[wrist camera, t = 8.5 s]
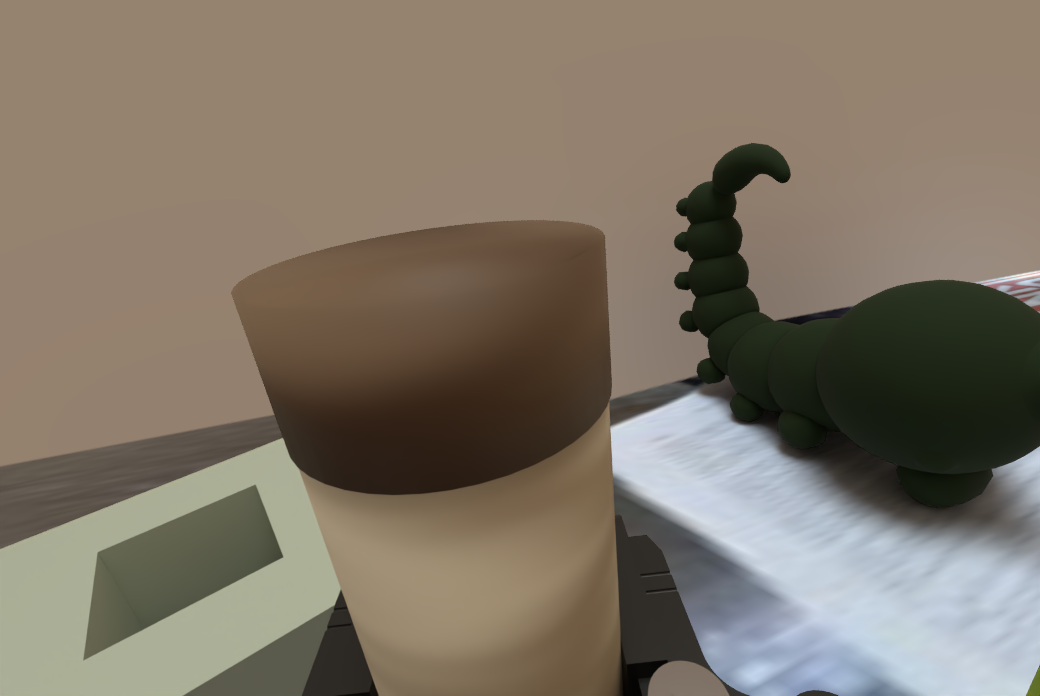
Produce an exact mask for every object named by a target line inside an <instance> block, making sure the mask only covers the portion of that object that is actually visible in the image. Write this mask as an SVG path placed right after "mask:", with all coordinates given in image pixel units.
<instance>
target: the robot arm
mask: <svg viewBox="0 0 1040 696" xmlns="http://www.w3.org/2000/svg"><path fill="white" fill-rule="evenodd" d="M615 533H616V553H617V573H618V593H619V612H620V632H621V633H620V640H621V660H622V680H623V696H749V695H746V694H744V693H741V692H739V691H737V690H735V689H734V688H732V687H730V686H729V685H727V684H726V683H725V682H723V681H722V680H721V679H720V678H719V677H718V676H717V675H716V674H715V673H714V672H713V670H712V669H711V668H710V666H709V665H708V663H707V662H706V660H705V658H704V656H703V653H702V651H701V648H700V646H699V643H698V641H697V638H696V636H695V633H694V631H693V628H692V626H691V623H690V621H689V618H688V615H687V613H686V610H685V608H684V605H683V603H682V600H681V598H680V595H679V593H678V592H677V589H676V585H675V583H674V580H673V578H672V575H670V570H669V568H668V565H667V563H666V560H665V558H664V555H663V553H662V551H661V550H660V549H659V548H658V547H657V546H656V544H655V543H654V542H653V541H652V540H651V539H650V538H649V537H648V536H647V535H642V536H633V537H628V535H627V532H626V529H625V526H624V523H623V520H622V517H621V515H615ZM302 696H379V695H378V692H377V689H376V687H375V684H374V681H373V678H372V675H371V672H370V670H369V667H368V664H367V661H366V658H365V655H364V652H363V650H362V647H361V644H360V641H359V638H358V635H357V633H356V630H355V627H354V624H353V621H352V618H351V616H350V613H349V610H348V607H347V604H346V601H345V599H344V596H343V593H342V590H340V592H339V595H338V598H337V600H336V603H335V606H334V612H333V613H332V614H331V617H330V620H329V622H328V625H327V631H325V633H324V636H323V639H322V641H321V644H320V647H319V650H318V652H317V655H316V658H315V660H314V663H313V666H312V669H311V671H310V674H309V677H308V680H307V682H306V685H305V688H304V690H303V693H302ZM797 696H838V695H836V694H833V693H830V692H825V691H817V690H812V691H806V692H803V693H800V694H799V695H797Z"/></svg>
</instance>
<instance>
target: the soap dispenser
mask: <svg viewBox="0 0 1040 696" xmlns="http://www.w3.org/2000/svg"><path fill="white" fill-rule="evenodd" d="M1026 696H1040V666H1039V668H1038V670H1037V672H1036V675H1035V677H1034V679H1033V681H1032V683H1031V686H1030V688H1029V690H1028V692H1027V695H1026Z"/></svg>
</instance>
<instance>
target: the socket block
mask: <svg viewBox="0 0 1040 696" xmlns="http://www.w3.org/2000/svg"><path fill="white" fill-rule="evenodd" d="M340 590H341V587H340V584H339V582H338V579H337V576H336V573H335V570H334V567H333V565H332V562H331V559H330V556H329V553H328V550H327V548H326V545H325V542H324V539H323V536H322V533H321V531H320V528H319V525H318V522H317V519H316V516H315V514H314V511H313V508H312V505H311V502H310V499H309V497H308V494H307V491H306V488H305V485H304V482H303V480H302V477H301V474H300V471H299V468H298V467H297V466H296V465H295V463H294V462H293V461H292V460H291V458H290V456H289V453H288V451H287V448H286V445H285V442H284V439H283V438H282V439H279V440H277V441H274V442H272V443H269V444H267V445H264V446H262V447H259V448H256V449H254V450H251V451H249V452H246V453H244V454H241V455H239V456H236V457H234V458H231V459H228V460H226V461H223V462H221V463H218V464H216V465H213V466H211V467H208V468H206V469H203V470H201V471H198V472H195V473H193V474H190V475H188V476H185V477H183V478H180V479H178V480H175V481H173V482H170V483H167V484H165V485H162V486H160V487H157V488H155V489H152V490H150V491H147V492H145V493H142V494H140V495H137V496H134V497H132V498H129V499H127V500H124V501H122V502H119V503H117V504H114V505H112V506H109V507H106V508H104V509H101V510H99V511H96V512H94V513H91V514H89V515H86V516H84V517H81V518H79V519H76V520H73V521H71V522H68V523H66V524H63V525H61V526H58V527H56V528H53V529H51V530H48V531H45V532H43V533H40V534H38V535H35V536H33V537H30V538H28V539H25V540H23V541H20V542H18V543H15V544H12V545H10V546H7V547H5V548H2V549H0V696H302V693H303V690H304V688H305V685H306V682H307V680H308V677H309V674H310V671H311V669H312V666H313V663H314V660H315V658H316V655H317V652H318V650H319V647H320V644H321V641H322V639H323V636H324V633H325V631H327V625H328V622H329V620H330V617H331V614H332V613H333V612H334V606H335V603H336V600H337V598H338V595H339V592H340Z"/></svg>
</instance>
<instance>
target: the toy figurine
mask: <svg viewBox="0 0 1040 696" xmlns="http://www.w3.org/2000/svg"><path fill="white" fill-rule="evenodd" d="M759 174H767V175H769V176H771V177H773V178H774V179H775V180H777V181H778V182H780V183H785V182H787V181H788V180H789V178H790V175H791V174H790V169H789V166H788V164H787V162H786V160H785V159H784V157H783V156H782V155H781V154H780V153H779V152H778V151H777V150H775V149H774V148H772V147H770V146H768V145H763V144H756V143H751V144H747V145H742V146H739V147H737V148H735V149H733V150H731V151H730V152H728V153H727V154H725V155H724V156H723V157H722V158H721V159H720V160H719V161H718V163H717V164H716V165H715V168H714V171H713V179H712V181H710V182H705V183H702V184H700V185H698V186H697V187H696V188H695V189H694V190H693V191H692V192H691V193H690V194H689V196H688V198H684V199H681V200H680V201H679V202H678V204H677V205H676V207H677V209H676V210H677V212H678V213H679V214H680V215H681V216H687V219H688V220H689V222H690V223H691V225H690V226H689V228H688V230H687V232H681V233H680V234H679V235H677V236H676V238H675V240H674V245H675V247H676V248H677V249H678V250H680V251H683V252H686V251H688V253H689V256H690V257H691V258H692V259H693V262H692V263H691V265H690V268H689V271H688V272H679V273H678V274H677V275H676V277H675V280H674V283H675V286H676V287H677V288H678V289H682V290H689V289H691V291H692V293H693V294H694V295H695V297H696V299H695V301H694V303H693V308H692V311H686V312H684V313H683V314H682V315H681V317H680V321H679V324H680V326H681V328H682V329H683V330H685V331H688V332H695V331H697V330H698V329H699V331H700V332H701V334H703V335H704V336H705V337H707V338H708V349H709V355H710V358H707V359H704V360H702V361H700V363H699V364H698V367H697V374H698V376H699V378H700V379H701V380H702V381H704V382H705V383H707V384H712V383H718V382H721V381H722V380H723V379H725V375H727V376H729V378H730V382H731V383H732V385H733V387H734V388H735V390H736V392H737V393H736V395H735V396H734V397H733V399H732V401H731V403H730V406H731V409H732V412H733V413H734V415H735V417H737V418H739V419H742V420H745V421H752V420H754V419H756V418H758V417H759V416H760V415H761V413H762V412H763V410H767V411H775V412H781V414H780V416H779V419H778V428H777V430H778V432H779V434H780V435H781V437H782V439H783V440H784V441H785V442H787V443H788V444H789V445H791V446H794V447H796V448H799V449H802V448H810V447H813V446H816V445H819V444H822V443H823V441H824V440H825V438H826V434H827V431H834V432H839V431H842V432H843V433H844V434H845V435H846V436H847V437H848V438H850V439H851V440H852V441H853V442H855V443H856V444H857V445H858V446H860V447H861V448H863V449H864V450H866V451H868V452H870V453H872V454H874V455H875V456H878V457H880V458H882V459H884V460H886V461H888V462H891V463H893V464H896V465H898V468H897V474H898V478H899V481H900V485H901V486H902V487H903V489H904V490H905V492H906V493H907V494H908V495H910V496H911V497H912V498H914V499H915V500H917V501H918V502H920V503H922V504H925V505H929V506H933V507H950V506H954V505H958V504H962V503H964V502H966V501H969V500H971V499H973V498H975V497H977V496H978V495H980V494H982V492H983V491H984V489H985V488H986V486H987V485H988V483H989V481H990V480H991V478H992V477H993V474H992V469H993V468H997V467H1000V466H1003V465H1006V464H1008V463H1011V462H1014V461H1016V460H1018V459H1020V458H1022V457H1024V456H1025V455H1027V454H1029V453H1030V452H1032V451H1033V450H1035V449H1036V448H1038V447H1039V446H1040V313H1038V312H1037V311H1036V310H1034V309H1033V308H1031V307H1030V306H1028V305H1026V304H1025V303H1023V302H1022V301H1020V300H1019V299H1017V298H1015V297H1013V296H1011V295H1008V294H1006V293H1004V292H1001V291H999V290H996V289H993V288H990V287H987V286H984V285H981V284H976V283H970V282H963V281H955V280H934V281H924V282H916V283H909V284H904V285H900V286H896V287H893V288H890V289H887V290H884V291H882V292H880V293H878V294H876V295H873V296H871V297H870V298H867V299H865V300H863V301H862V302H860V303H858V304H857V305H855V306H854V307H853V308H852V309H850V310H849V311H848V312H847V313H846V314H845V315H843V316H842V317H841V318H830V319H819V320H813V321H810V322H807V323H804V324H802V325H796V324H792V323H788V322H775V321H774V320H772V319H771V318H770V317H768V316H767V315H765V314H763V313H760V312H759V305H758V301H757V298H756V296H755V295H754V293H753V292H752V291H751V290H750V289H749V288H748V287H747V286H746V285H747V283H748V275H749V270H748V266H747V263H746V261H745V260H744V259H743V257H742V256H741V255H740V254H739V253H738V251H739V249H740V247H741V242H742V236H743V235H742V230H741V227H740V225H739V223H738V222H737V220H736V219H734V217H733V215H734V212H735V210H736V198H735V194H734V193H735V192H737V191H739V190H741V189H743V188H744V187H745V186H747V184H749V183H750V181H751V180H752V179H753V178H754V177H755V176H757V175H759Z"/></svg>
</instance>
